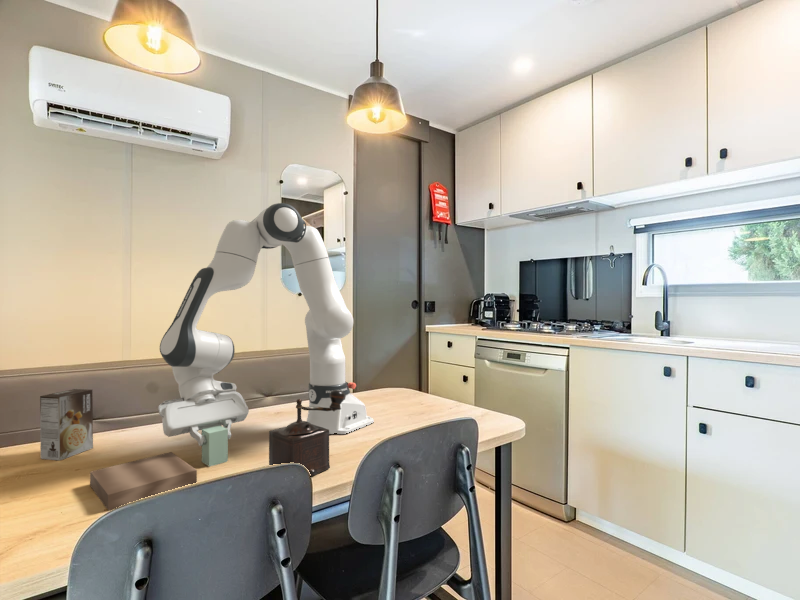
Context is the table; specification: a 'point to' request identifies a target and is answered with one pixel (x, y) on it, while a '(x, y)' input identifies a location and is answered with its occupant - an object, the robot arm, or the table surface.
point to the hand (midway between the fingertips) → (215, 441)
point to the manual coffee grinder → (304, 440)
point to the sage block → (215, 446)
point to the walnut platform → (140, 479)
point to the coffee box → (66, 423)
